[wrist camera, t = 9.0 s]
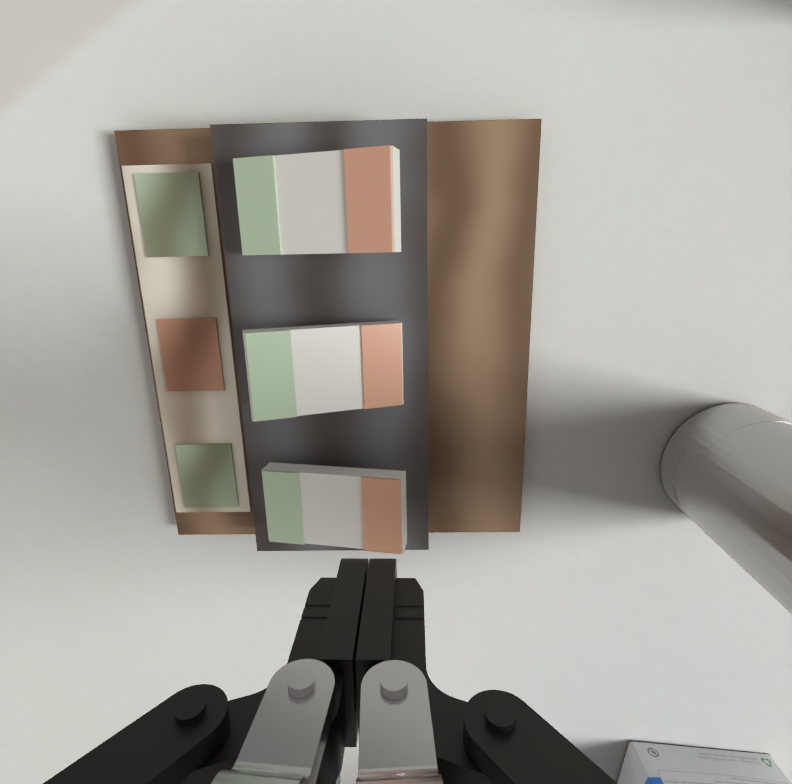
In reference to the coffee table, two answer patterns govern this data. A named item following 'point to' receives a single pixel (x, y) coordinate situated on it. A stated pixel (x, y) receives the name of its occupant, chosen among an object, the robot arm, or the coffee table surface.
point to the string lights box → (696, 766)
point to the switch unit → (343, 319)
